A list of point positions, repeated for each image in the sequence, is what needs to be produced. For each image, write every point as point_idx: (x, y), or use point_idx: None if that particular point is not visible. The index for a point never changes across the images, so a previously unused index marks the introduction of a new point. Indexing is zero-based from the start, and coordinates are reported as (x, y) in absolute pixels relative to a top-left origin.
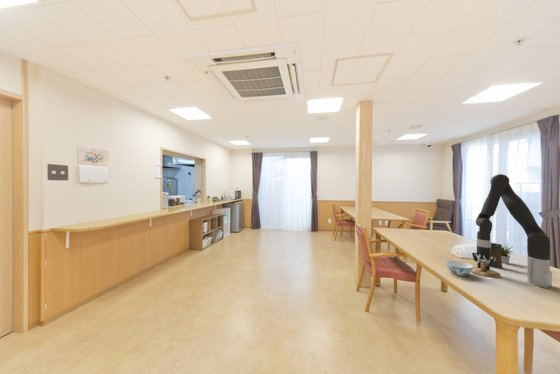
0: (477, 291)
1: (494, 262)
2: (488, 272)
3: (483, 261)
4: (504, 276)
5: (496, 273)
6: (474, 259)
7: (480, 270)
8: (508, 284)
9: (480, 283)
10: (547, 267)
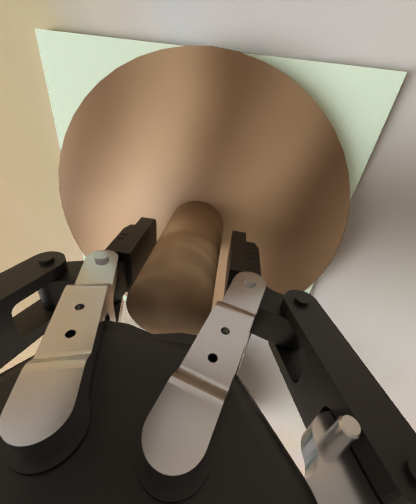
0: (296, 457)
1: (348, 360)
2: (237, 216)
3: (156, 298)
4: (381, 128)
5: (304, 167)
6: (43, 313)
7: (166, 223)
8: (409, 308)
9: (274, 398)
10: None
